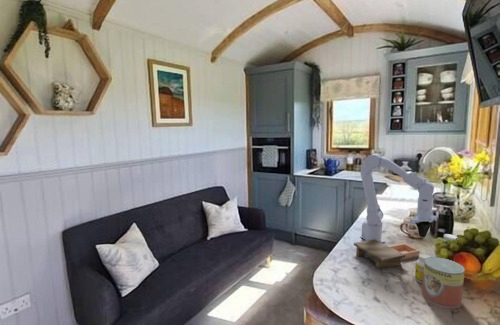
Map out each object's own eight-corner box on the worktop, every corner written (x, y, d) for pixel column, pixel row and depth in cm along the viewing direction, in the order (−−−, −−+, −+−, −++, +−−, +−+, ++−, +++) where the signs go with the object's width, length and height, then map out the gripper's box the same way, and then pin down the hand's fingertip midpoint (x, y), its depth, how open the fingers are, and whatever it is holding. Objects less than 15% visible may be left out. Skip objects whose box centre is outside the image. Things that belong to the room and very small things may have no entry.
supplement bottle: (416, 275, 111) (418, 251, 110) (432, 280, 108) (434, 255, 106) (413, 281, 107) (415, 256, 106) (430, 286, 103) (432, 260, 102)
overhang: (353, 253, 130) (353, 242, 129) (374, 249, 134) (374, 239, 133) (381, 271, 114) (382, 259, 113) (404, 266, 118) (405, 254, 117)
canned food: (414, 292, 99) (416, 260, 98) (435, 285, 104) (438, 254, 102) (447, 312, 89) (451, 276, 88) (469, 303, 94) (472, 269, 92)
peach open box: (387, 252, 131) (387, 246, 130) (403, 249, 134) (404, 243, 134) (401, 260, 123) (402, 254, 123) (419, 256, 127) (419, 250, 126)
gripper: (420, 212, 123) (418, 242, 125) (444, 209, 128) (441, 237, 130) (406, 207, 130) (404, 236, 132) (430, 204, 135) (427, 232, 137)
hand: (422, 236), depth 131 cm, fingers closed
